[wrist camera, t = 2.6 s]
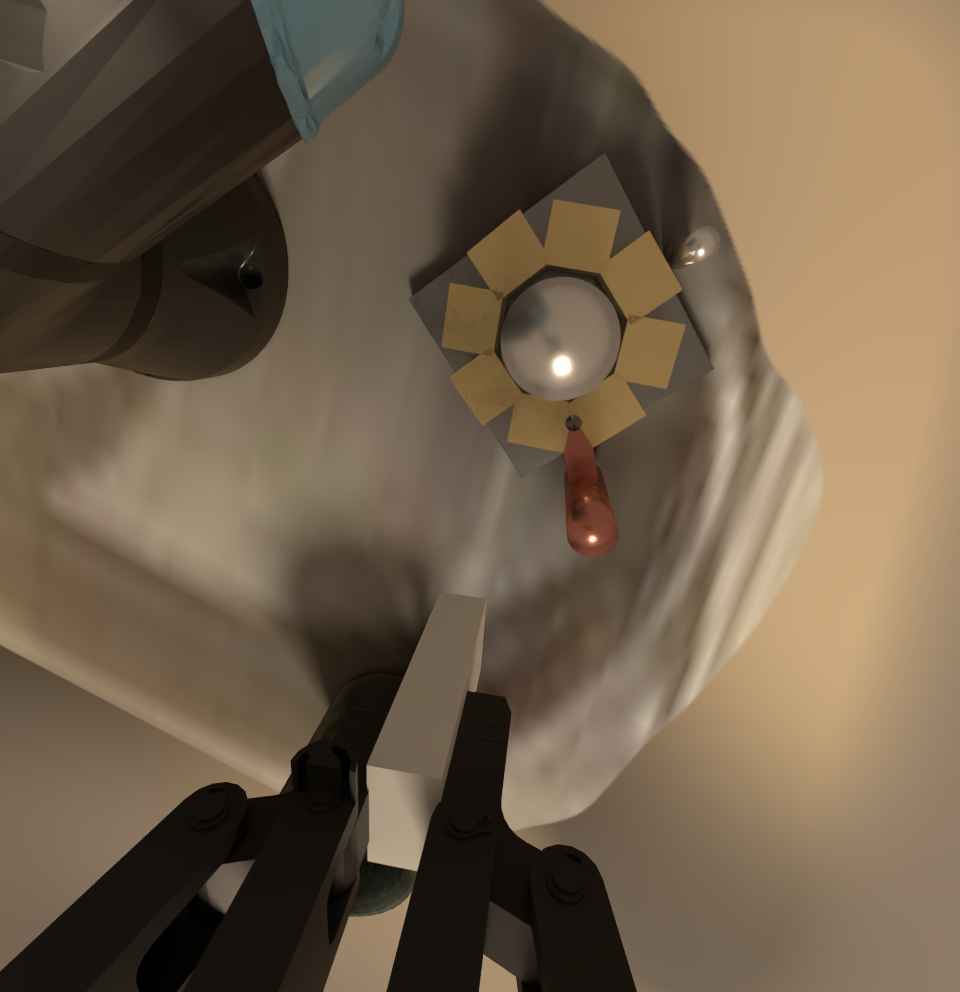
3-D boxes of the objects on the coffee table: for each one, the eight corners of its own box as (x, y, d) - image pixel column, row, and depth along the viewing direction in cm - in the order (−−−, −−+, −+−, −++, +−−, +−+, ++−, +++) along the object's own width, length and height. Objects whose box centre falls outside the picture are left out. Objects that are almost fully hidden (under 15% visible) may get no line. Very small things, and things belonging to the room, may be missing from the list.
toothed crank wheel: (431, 247, 29) (383, 222, 21) (656, 184, 26) (700, 127, 18) (493, 511, 33) (473, 573, 26) (687, 480, 31) (732, 537, 23)
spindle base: (412, 299, 31) (351, 293, 22) (633, 135, 27) (675, 40, 17) (522, 472, 34) (509, 533, 25) (738, 350, 29) (823, 367, 20)
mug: (306, 717, 44) (222, 854, 33) (399, 614, 39) (337, 734, 28) (403, 786, 46) (354, 940, 34) (506, 695, 40) (487, 841, 29)
